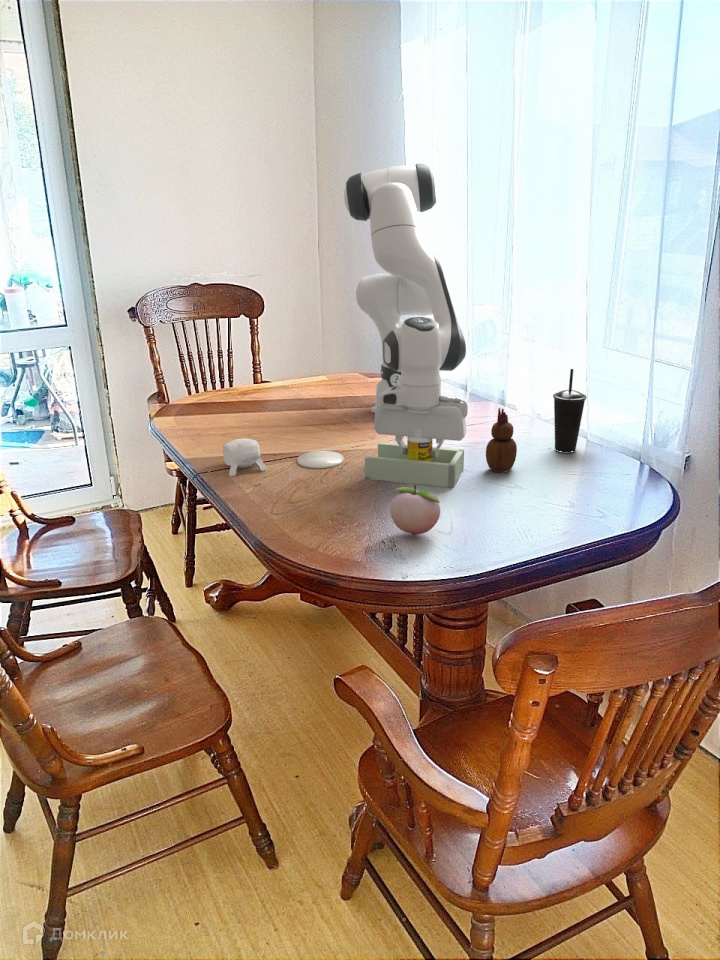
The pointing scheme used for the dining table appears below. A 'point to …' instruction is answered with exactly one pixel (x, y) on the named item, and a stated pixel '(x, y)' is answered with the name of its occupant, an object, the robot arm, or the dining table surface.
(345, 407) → the dining table surface
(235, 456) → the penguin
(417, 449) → the supplement bottle
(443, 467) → the green rectangular tray
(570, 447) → the drinking cup
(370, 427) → the dining table surface
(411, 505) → the decorative fruit
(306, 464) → the white round disc
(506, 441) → the wooden figurine
